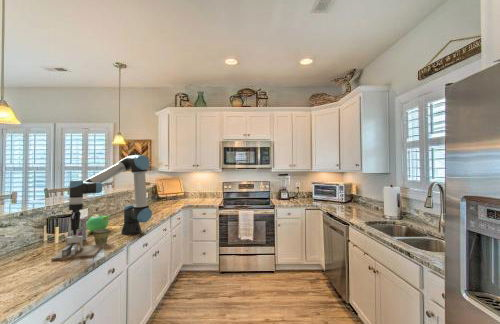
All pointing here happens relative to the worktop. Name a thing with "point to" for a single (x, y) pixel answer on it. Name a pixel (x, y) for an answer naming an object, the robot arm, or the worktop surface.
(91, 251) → the board
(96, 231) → the tan flower pot
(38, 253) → the worktop surface
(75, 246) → the tong jaw
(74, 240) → the lock collar
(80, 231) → the candy bar box
